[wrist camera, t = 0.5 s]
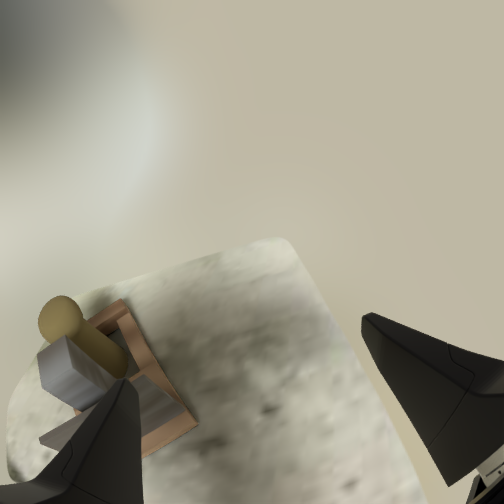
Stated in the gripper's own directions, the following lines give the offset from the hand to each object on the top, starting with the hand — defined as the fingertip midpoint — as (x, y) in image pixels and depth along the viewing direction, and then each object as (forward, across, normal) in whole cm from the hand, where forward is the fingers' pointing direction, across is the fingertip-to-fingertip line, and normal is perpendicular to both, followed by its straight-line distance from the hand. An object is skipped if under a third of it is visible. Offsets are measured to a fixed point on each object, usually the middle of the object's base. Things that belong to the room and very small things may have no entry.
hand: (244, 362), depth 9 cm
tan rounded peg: (+15, +18, +12) cm, 27 cm away
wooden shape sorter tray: (+12, +16, +13) cm, 24 cm away
